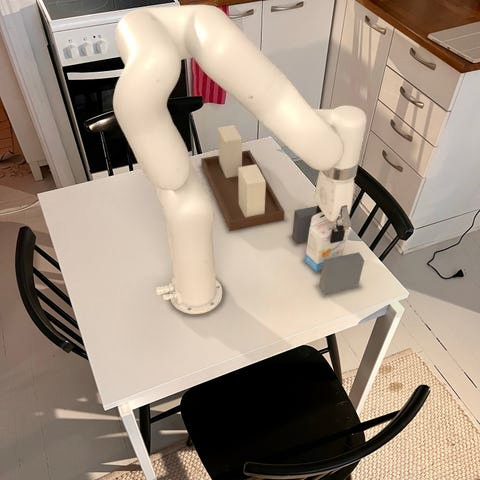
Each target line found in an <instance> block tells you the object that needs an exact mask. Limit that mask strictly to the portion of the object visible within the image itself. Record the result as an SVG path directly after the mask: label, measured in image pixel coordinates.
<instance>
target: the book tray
mask: <svg viewBox="0 0 480 480" xmlns="http://www.w3.org/2000/svg"><path fill="white" fill-rule="evenodd" d="M200 162H201V169H202V171H203V173H204V175H205V178H206V181H207V182H208V184H209V186H210V189H211V192H212V193H213V196H214V198H215V200H216V203H217V206H218V207H219V209H220V212H221V214H222V217H223V219H224V221H225V223H226V225H227V228H228V231H229V232H231V231H237V230H242V229H247V228H252V227H256V226H262V225H267V224H272V223H277V222H281V221H284V220H285V210H284V209H283V207H282V204H281V203H280V201H279V200H278V198H277V196H276V194H275V193H274V190H273V189H272V187H271V185H270V184H269V182H268V180H267V178H266V177H265V175H264V172H263V171H262V169H261V168H260V165H259V164H258V162H257V160H256V159H255V156H254V155H253V153H252V152H251V150H250V149H249V150H248V149H247V150H242V167H244V166H249V165H255V164H256V165H257V167H258V168H259V170H260V172H261V174H262V175H263V177H264V179H265V181H266V189H265V212H264V214H261V215H256V216H251V217H246V218H245V216H244V214H243V212H242V210H241V208H240V206H239V177H238V176H235V177H229V178H226V176H225V174H224V172H223V170H222V168H221V166H220V164H219V155H213V156H208V157H207V156H206V157H201V159H200Z"/></svg>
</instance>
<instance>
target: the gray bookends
mask: <svg viewBox="0 0 480 480" xmlns="http://www.w3.org/2000/svg"><path fill="white" fill-rule="evenodd" d="M316 209H317V205H315V206H310V207H309V206H308V207H304V208H300V209H294V213H293V221H292V222H293V223H292V232H291V233H292V234H291V238H292V239H293V241H294V243H295V245H299V244H303V243H308V236H309V229H310V225H311V220H312V217H313V216H314V215H316ZM364 264H365V259H364V257H363V256H362V254H361V253H360V251H358V252H354V253H349V254H344V255H342V256H339V257H335V258H330V259H326V260H324V261H323V267H322V270H321V273H320V278H319V285H318V287H319V289H320V291H321V293H322V294H323V295H324V296H326V295H330V294H335V293H338V292H339V293H340V292H342V291H347V290H351V289H356V288H358V287H359V285H360V281H361V280H360V279H361V276H362V272H363V268H364Z"/></svg>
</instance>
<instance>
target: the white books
mask: <svg viewBox="0 0 480 480" xmlns="http://www.w3.org/2000/svg"><path fill="white" fill-rule="evenodd" d="M217 141H218V142H217V143H218V156H219V164H220V166H221V168H222V170H223V172H224V174H225V176H226V178H229V177H235V176H238V177H239V206H240V208H241V210H242V212H243V214H244V216H245V218H246V217H251V216H256V215H261V214H264V212H265V189H266V181H265V179H264V177H263V175H264V174H263V175H262V174H261V172H260V170H259V168H260V167H259V168H258V167H257V165H256V164H255V165H249V166H244V167H242V151H243V138H242V136H241V134H240V132H239V131H238V129H237V128H236V126H235V124H230V125H224V126H219V127H217Z"/></svg>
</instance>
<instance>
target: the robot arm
mask: <svg viewBox="0 0 480 480" xmlns="http://www.w3.org/2000/svg"><path fill="white" fill-rule="evenodd" d="M114 33H115V34H114V37H115V38H114V42H115V46H116V50H117V52H118V55H119V57H120V59H121V60H122V62H123V64H124V68H123V69H122V72H121V74H120V76H119V78H118V79H117V82H116V84H115V88H114V92H113V97H112V107H113V112H114V116H115V118H116V121H117V123H118V125H119V127H120V129H121V131H122V132H123V134H124V136H125V138H126V141H127V142H128V145H129V147H130V149H131V151H132V153H133V155H134V157H135V159H136V161H137V164H138V166H139V169H140V171H142V174H143V176H144V177H146V179H147V180H148V181H149V182H150V183H151V185H152V187H153V189H154V191H155V193H156V196H157V198H158V200H159V203H160V206H161V208H162V211H163V213H164V217H165V219H166V225H167V241H168V250H169V254H170V260H171V266H172V274H173V277H172V278H171V282H170V283H168V284H167V285H164V286H163V285H160V286H156V287H155V292H156V295H157V296H161V295H162V298H163V302H164V301H165V302H166V301H169V300H170V301H171V303H172V305H173V306H174V307H175V308H176V309H177V310H179V311H180V312H182V313H185V314H189V315H201V314H205V313H208V312H211V311H212V310H214V309H215V308H216V307H218V306H219V304H220V303H221V301H222V299H223V287H222V285H221V283H220V282H219V280H218V279H216V269H215V268H216V267H215V252H214V237H213V236H214V235H213V233H214V232H213V229H214V221H215V210H214V205H213V202H212V199H211V197H210V194H209V193H208V190H207V189H206V187H205V185H204V183H203V182H202V180H201V178H200V177H199V175H198V172H197V171H196V169H195V166H194V164H193V163H192V161H191V157H190V154H189V151H188V148H187V146H186V142H185V141H184V139H183V138H182V135H181V133H180V132H179V130H178V128H177V126H176V125H175V124H174V122H173V118H172V115H171V114H170V111H169V109H168V106H167V105H168V100H169V98H170V96H171V93H172V92H173V90H174V89H175V87H176V85H177V83H178V81H179V80H180V79H179V78H180V75H181V71H182V70H181V69H182V60H186V59H194V60H195V63H196V64H197V65H198V67H199V68H200V69H201V70H202V71H203V73H204V74H206V76H207V77H209V78H210V79H211V81H213V82H214V83H216V85H218V86H219V87H220V88H221V89H222V90H223V91H225V92H226V93H227V94H228V95H230V97H231V98H233V99H234V100H235V101H237V102H238V103H239V104H240V105H241V106H242V107H243V108H245V110H247V112H249V113H250V114H251V115H252V116H253V117H255V119H256V120H258V122H259V123H261V125H263V126H264V127H265V128H266V129H267V130H268V131H270V132H271V133H272V134H273V135H274V136H276V138H278V139H279V140H280V141H281V142H282V143H283V144H284V145H285V146H286V147H287V148H288V149H289V150H290V151H292V153H293V154H295V155H296V156H297V157H298V158H299V159H300V160H302V161H303V162H304V163H305V164H306V165H307V166H309V167H310V168H311V169H313V170H315V171H319V172H318V175H317V180H316V184H315V191H314V200H315V202H316V206H317V209H316V214H318V213H320V212H323V213H324V214H323V215H322V216H320V218H321V217H324V216H326V218H327V219H328V220H329V221H333V226H334V229H332V232H331V237H330V242H331V243H336V242H340V241H343V239H344V234H345V230H347V229H348V230H349V228H351V227H352V221H351V217H350V214H351V211H352V205H353V197H354V191H355V189H354V188H355V178H356V176H357V172H358V167H359V161H360V157H361V152H362V147H363V142H364V137H365V132H366V127H367V122H368V121H367V115H366V113H365V111H364V110H362V109H361V108H360V107H357V106H354V105H346V104H345V105H340V106H338V107H335V108H312V107H311V105H309V103H308V102H307V101H306V100H305V98H304V97H303V96H302V94H301V93H300V92H299V90H298V89H297V88H296V87H295V85H294V84H293V83H292V82H291V80H290V79H289V78H288V77H287V76H286V75H285V73H283V72H282V70H280V69H279V68H278V67H277V66H276V65H275V63H274V62H272V60H270V59H269V58H268V56H266V54H264V53H263V52H262V50H260V49H259V47H258V46H257V45H256V44H255V43H254V42H253V41H252V40H251V39H250V38H249V37H248V36H247V35H246V34H245V32H243V31H242V30H241V29H240V28H239V27H238V26H237V25H236V24H235V23H234V22H233V20H232V19H231V18H230V17H229V16H228V15H227V14H226V12H224V11H223V10H222V9H221V8H219V7H218V6H217V7H216V6H214V5H209V4H185V5H171V6H153V7H141V8H136V9H133V10H130V11H129V12H127V13H126V14H124V15H123V16H122V17H121V18H120V20H119V21H118V23H117V25H116V28H115V32H114ZM338 216H339V217H338ZM340 219H342V225H339V226H338V224H337V220H340Z"/></svg>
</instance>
